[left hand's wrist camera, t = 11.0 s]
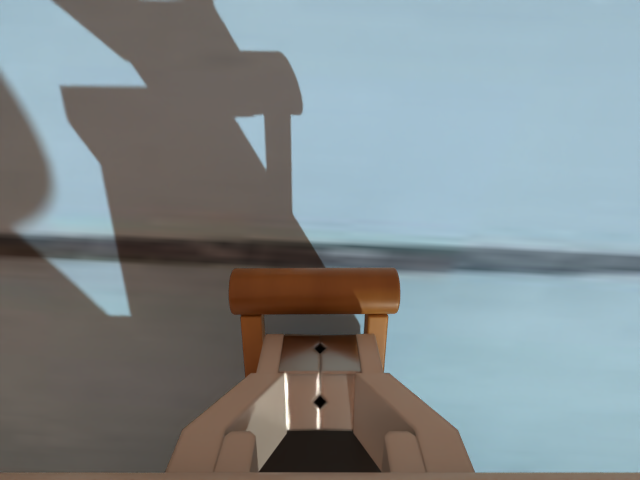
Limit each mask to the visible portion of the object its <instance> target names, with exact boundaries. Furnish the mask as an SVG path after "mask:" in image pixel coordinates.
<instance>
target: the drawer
mask: <svg viewBox="0 0 640 480" xmlns="http://www.w3.org/2000/svg"><path fill="white" fill-rule="evenodd" d="M399 304H400V282H399V276H398V273H397V270H396V269H395V268H235V269H233V270H232V273H231V276H230V281H229V306H230V310H231V313H232V314H234V315H241V317H240V318H241V330H242V343H243V355H244V367H245V378H246V377H247V376H248V375H249V374H250V373H256V372H257V367H258V363H259V358H260V354H261V350H262V345H263V341H264V337H265V321H264V315H279V314H365V322H364V334H374V335H375V337H376V341H377V346H378V350H379V354H380V359H381V363H382V367H383V372H384V363H385V351H386V338H387V326H388V315H387V314H395V313H397V311H398V309H399ZM259 472H348V473H381V470H380V469H379V468H378V466H377V465H376V463H375V462H374V461H373V459H372V458H371V457H370V455H369V454H368V452H367V451H366V450H365V448H364V447H363V446H362V444H361V443H360V441H359V440H358V439H357V437H356V436H355V435H354V433H353V431H329V430H310V431H287V434H286V435H285V436H284V438H283V439H282V440H281V442H280V443H279V445H278V446H277V447H276V449H275V450H274V451H273V453H272V454H271V456H270V457H269V458H268V460H267V461H266V462H265V464H264V465H263V466H262V468H261V469H260V471H259Z"/></svg>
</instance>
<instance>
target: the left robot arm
mask: <svg viewBox="0 0 640 480" xmlns="http://www.w3.org/2000/svg"><path fill="white" fill-rule="evenodd" d="M310 430H329V431H353V433H354V435H355V436H356V437H357V439H358V440H359V441H360V443H361V444H362V446H363V447H364V448H365V450H366V451H367V452H368V454H369V455H370V457H371V458H372V459H373V461H374V462H375V463H376V465H377V466H378V468H379V469H380V470H381V473H348V472H259V471H260V469H261V468H262V466H263V465H264V464H265V462H266V461H267V460H268V458H269V457H270V456H271V454H272V453H273V451H274V450H275V449H276V447H277V446H278V445H279V443H280V442H281V440H282V439H283V438H284V436H285V435H286V434H287V431H310ZM0 480H640V473H475V471H474V469H473V466H472V464H471V461H470V459H469V456H468V454H467V451H466V449H465V446H464V444H463V441H462V439H461V436H460V434H459V431H458V430H457V429H456V428H455V427H454V426H452V425H451V424H450V423H449V422H448V421H446V420H445V419H444V418H443V417H442V416H440V415H439V414H438V413H437V412H435V411H434V410H433V409H432V408H431V407H429V406H428V405H427V404H426V403H425V402H423V401H422V400H421V399H420V398H419V397H417V396H416V395H415V394H414V393H413V392H411V391H410V390H409V389H408V388H407V387H405V386H404V385H403V384H402V383H401V382H399V381H398V380H397V379H396V378H394V377H393V376H392V375H391V374H390V373H384V372H383V367H382V363H381V359H380V354H379V350H378V346H377V341H376V337H375V335H374V334H356V335H314V334H285V335H284V334H266V335H265V337H264V341H263V345H262V350H261V354H260V358H259V363H258V367H257V372H256V373H250V374H249V375H248V376H247V377H246V378H244V379H243V380H242V381H241V382H239V383H238V384H237V385H236V386H235V387H233V388H232V389H231V390H230V391H229V392H227V393H226V394H225V395H224V396H222V397H221V398H220V399H219V400H218V401H216V402H215V403H214V404H213V405H212V406H210V407H209V408H208V409H207V410H206V411H204V412H203V413H202V414H201V415H199V416H198V417H197V418H196V419H195V420H193V421H192V422H191V423H190V424H189V425H187V426H186V427H185V428H184V429H183V430H182V432H181V434H180V437H179V439H178V442H177V444H176V447H175V449H174V451H173V454H172V456H171V459H170V461H169V464H168V466H167V469H166V471H165V473H105V472H0Z"/></svg>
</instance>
